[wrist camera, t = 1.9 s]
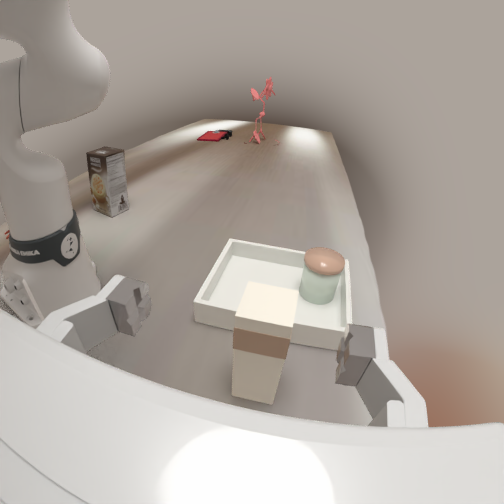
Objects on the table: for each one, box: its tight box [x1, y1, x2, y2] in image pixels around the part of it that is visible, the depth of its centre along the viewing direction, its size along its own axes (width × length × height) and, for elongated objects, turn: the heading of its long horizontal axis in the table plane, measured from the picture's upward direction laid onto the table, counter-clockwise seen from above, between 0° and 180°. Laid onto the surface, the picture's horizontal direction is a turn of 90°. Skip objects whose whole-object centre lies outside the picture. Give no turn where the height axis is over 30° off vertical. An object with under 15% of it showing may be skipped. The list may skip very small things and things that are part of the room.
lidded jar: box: [299, 247, 345, 305], centre depth 47 cm, size 6×6×7 cm
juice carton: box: [232, 281, 299, 405], centre depth 31 cm, size 5×5×14 cm
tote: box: [193, 239, 352, 350], centre depth 48 cm, size 22×18×4 cm
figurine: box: [246, 77, 278, 145], centre depth 138 cm, size 15×26×35 cm, turn 161°
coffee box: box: [86, 147, 129, 217], centre depth 68 cm, size 9×6×16 cm
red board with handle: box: [197, 130, 232, 141], centre depth 155 cm, size 30×3×15 cm
